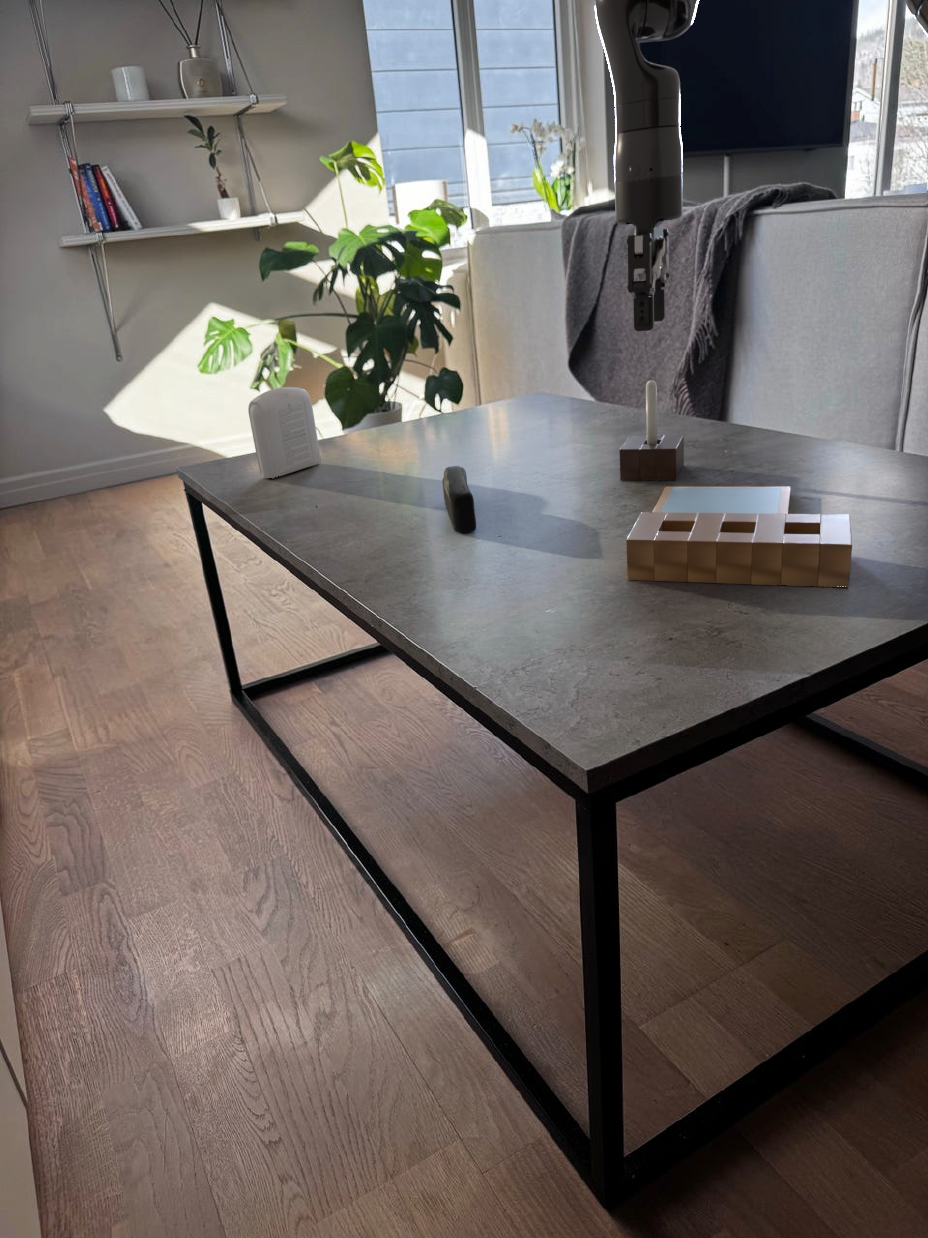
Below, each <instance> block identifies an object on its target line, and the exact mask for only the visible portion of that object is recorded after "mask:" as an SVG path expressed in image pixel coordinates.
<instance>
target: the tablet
mask: <svg viewBox="0 0 928 1238" xmlns="http://www.w3.org/2000/svg"><path fill="white" fill-rule="evenodd" d="M791 490H792V488H791V486H665V487H664V489H663V491H662V493H661V495H660V497H659V499H658V501H657V502H656V505H655V506H654V509H653V510H652V512H667V513H758V514H789V513H788V512H789V511H790V502H791V495H792V493H791V492H792V491H791Z"/></svg>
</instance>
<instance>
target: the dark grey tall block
mask: <svg viewBox="0 0 928 1238" xmlns="http://www.w3.org/2000/svg"><path fill="white" fill-rule="evenodd" d="M441 482H442V491H443V492H442V493H443V500H444V505H445V508H446V510H447V515H448V518H449V519H450V523H451V527H452V529H453V530H454V531H455V532H458V533H470V532H474V531H476V529H477V520H476V512H475V511H476V509H475V501H474V495H473V493H472V491H471V490H470V488H469V485H468V477H467V472H466V469H465V468H464V467H463V466H459V465H452V466H451V465H450V466H447V467H446V468H445V469H444V472H443V476H442V481H441Z"/></svg>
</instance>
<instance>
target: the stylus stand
mask: <svg viewBox="0 0 928 1238" xmlns="http://www.w3.org/2000/svg"><path fill="white" fill-rule="evenodd" d="M618 452H619V479H620V481H677V479H678V477H679V475H680V474H681V472H682V470H683V467H684V465H685V435H684V434H666V435H663V434H661V435H659V434H657V444H647V435H629V436H628V438H627V439H626V440H625V442H624V443H623V444H622V445H621V447H620V448H619V451H618Z"/></svg>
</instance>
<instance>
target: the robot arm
mask: <svg viewBox="0 0 928 1238" xmlns="http://www.w3.org/2000/svg"><path fill="white" fill-rule="evenodd" d="M699 1H700V0H594V12H595V14H594V15H595V19H596V24H597V29H598V34H599V37H600V40H601V43H602V46H603V49H604V53H605V57H606V61H607V64H608V70H609V72H610V78H611V83H612V87H613V95H614V107H615V108H614V116H615V119H614V120H615V121H614V122H615V143H614V154H613V167H614V168H613V170H614V175H613V176H614V204H615V222H616V224H617V225H619V226H620V225H621V226H624V225H632V226H633V227H634V231H633V235H631V234H630V235H628V236H627V239H626V244H627V286H626V287H627V291H628V294H630V295H631V298H632V299H633V300H632V301H633V329H634V331H636V332H649V331H652V330H653V329H654V327H655V322H662V321H663V320H665V318H666V288H667V285H668V281H669V279H670V275H671V274H670V261H669V258H670V257H669V255H670V254H669V253H670V252H669V247H670V242H669V236H670V231H669V229H668V228H664V226H663V224H664V223H663V222H665V221H672V220H678V219H680V218H681V217H682V215H683V141H682V134H681V127H680V126H681V81H680V75H679V72H678V71H677V70H676V69H675V68H673V67H672V66H667V65H662V64H657V63H654V62H651V61H648V60H647V59H646V58H645V57H644V55H643V54H642V52H641V50H640V47H639V44H641V43H651V42H664V41H670V40H674V39H676V38H678V37H680V36H681V35H684V33H686V32H687V31H688V30H689V29H690V27H691V26H692V25H693V23H694V20H695V18H696V14H697V11H698V5H699V3H700V2H699ZM904 2H905V4H906V6H907V9H908V10H909V12H910V13H911V15H912V17H913V18H914V20H915V21H916V22H917V23H918V25H919V26H920V27H921V29H922V30H923V32H924V33H925V34H926V35H927V36H928V0H904ZM638 43H639V44H638Z"/></svg>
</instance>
